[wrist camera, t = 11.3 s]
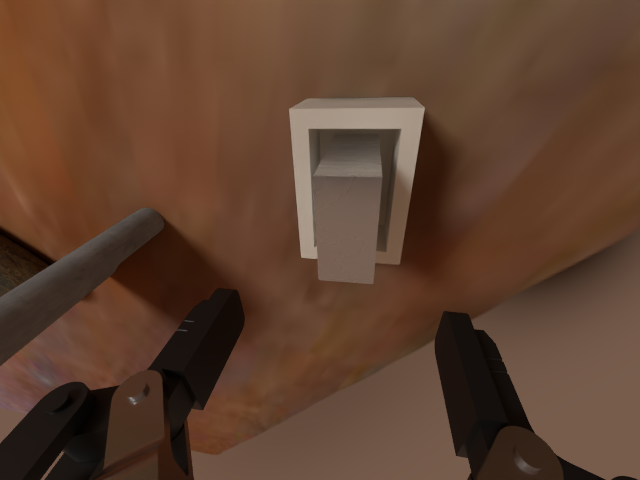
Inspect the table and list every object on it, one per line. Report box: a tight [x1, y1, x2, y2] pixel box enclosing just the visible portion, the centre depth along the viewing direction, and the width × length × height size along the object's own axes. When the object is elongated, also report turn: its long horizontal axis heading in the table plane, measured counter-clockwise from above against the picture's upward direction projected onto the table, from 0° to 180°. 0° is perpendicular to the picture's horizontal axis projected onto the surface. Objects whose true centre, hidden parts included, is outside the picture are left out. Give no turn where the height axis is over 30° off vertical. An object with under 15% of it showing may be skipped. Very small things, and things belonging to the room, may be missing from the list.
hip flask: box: [0, 208, 164, 366], centre depth 27 cm, size 16×4×20 cm, turn 128°
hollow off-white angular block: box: [289, 97, 425, 265], centre depth 23 cm, size 8×12×6 cm
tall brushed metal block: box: [313, 134, 382, 284], centre depth 20 cm, size 4×7×10 cm, turn 2°
